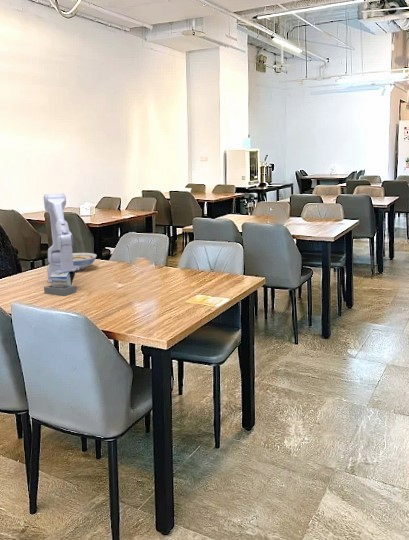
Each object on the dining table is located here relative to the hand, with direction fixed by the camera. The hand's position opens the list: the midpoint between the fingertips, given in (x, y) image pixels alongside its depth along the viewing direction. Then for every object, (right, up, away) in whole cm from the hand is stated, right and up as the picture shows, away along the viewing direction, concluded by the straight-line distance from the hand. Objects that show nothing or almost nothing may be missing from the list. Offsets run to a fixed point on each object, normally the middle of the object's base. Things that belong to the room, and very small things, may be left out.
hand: (68, 287), depth 248 cm
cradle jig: (-3, -2, -5) cm, 6 cm away
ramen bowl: (-8, +9, +47) cm, 48 cm away
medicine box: (-2, -1, -3) cm, 4 cm away
